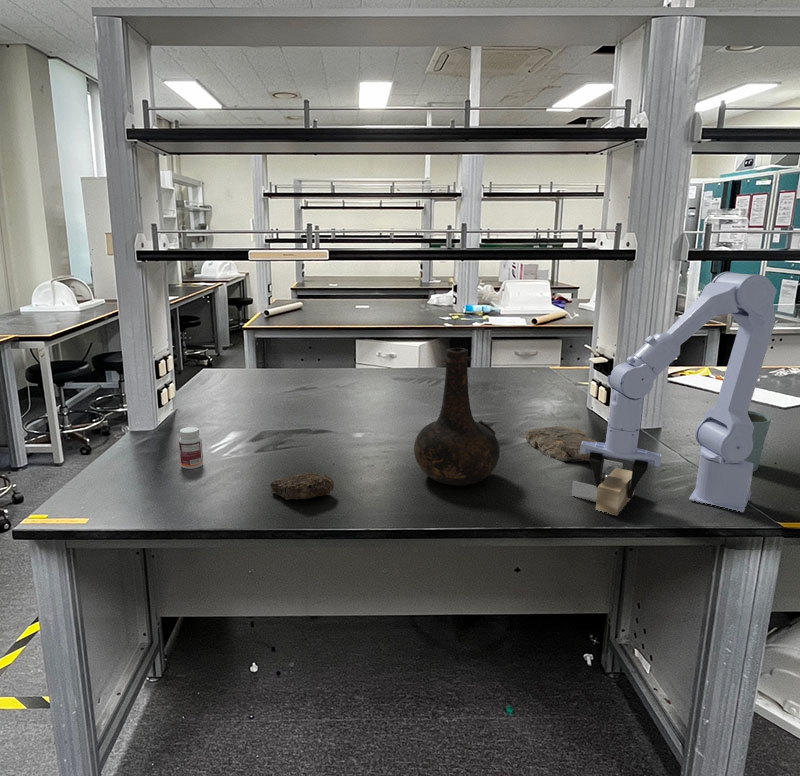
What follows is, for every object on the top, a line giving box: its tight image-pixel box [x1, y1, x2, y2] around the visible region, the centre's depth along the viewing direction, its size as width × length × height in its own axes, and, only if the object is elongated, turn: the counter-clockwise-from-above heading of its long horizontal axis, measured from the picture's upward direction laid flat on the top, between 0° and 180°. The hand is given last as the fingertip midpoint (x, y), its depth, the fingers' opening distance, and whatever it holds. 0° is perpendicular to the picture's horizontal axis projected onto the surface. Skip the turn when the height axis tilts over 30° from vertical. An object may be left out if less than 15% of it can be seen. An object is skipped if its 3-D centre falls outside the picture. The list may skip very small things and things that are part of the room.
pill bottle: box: [178, 426, 204, 470], centre depth 135 cm, size 5×5×8 cm
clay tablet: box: [525, 425, 598, 462], centre depth 147 cm, size 14×5×20 cm
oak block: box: [595, 468, 636, 517], centre depth 118 cm, size 4×12×5 cm, turn 145°
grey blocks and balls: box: [570, 458, 624, 503], centre depth 126 cm, size 5×17×3 cm, turn 144°
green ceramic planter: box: [744, 410, 772, 472], centre depth 137 cm, size 10×10×12 cm
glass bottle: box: [413, 347, 501, 486], centre depth 127 cm, size 18×18×28 cm
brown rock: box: [269, 472, 335, 501], centre depth 120 cm, size 12×10×5 cm
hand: (614, 493), depth 118 cm, fingers open, 5 cm apart
